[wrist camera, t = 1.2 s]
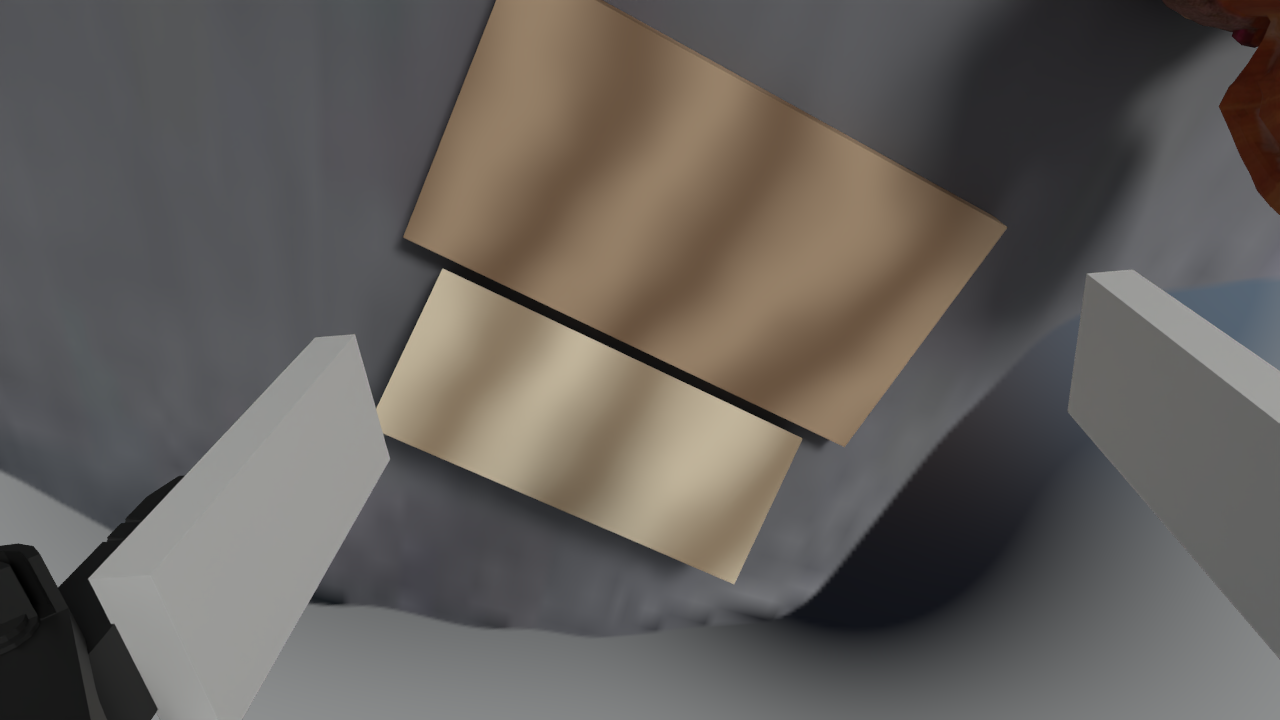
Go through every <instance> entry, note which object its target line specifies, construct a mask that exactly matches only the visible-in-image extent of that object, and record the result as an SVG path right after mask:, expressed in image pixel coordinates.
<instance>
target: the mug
mask: <svg viewBox="0 0 1280 720" xmlns="http://www.w3.org/2000/svg"><path fill="white" fill-rule="evenodd" d="M1162 1H1163V2H1164V4H1165V5H1166V6H1167V7H1169V8H1170V9H1172V10H1174V11H1176V12H1178V13H1179V14H1180V15H1182V16H1183V17H1185V18H1187V19H1191V20H1193V21H1195V22H1197V23H1198V24H1200V25H1202V26H1209V27H1215V28H1219V29H1223V30H1226V31H1230V32H1233V34H1232V37H1233V38H1234V39H1235V40H1236V41H1237V42H1239V43H1240V44H1241V45H1244V46H1249V47H1254V48H1255V47H1258V46H1259V47H1258V48H1257V50H1256V52H1255V53H1254V55H1253V56H1252V58H1251V59H1250V61H1249V63H1248V64H1247V65H1246V67H1245V68H1244V69H1243V71H1242V72H1241V73H1240V74H1239V76H1238V77H1237V78H1236V80H1235V81H1234V82H1233V83H1232V84H1231V85H1230V86H1229V88H1228V90H1227V92H1226V94H1225V95H1224V97H1223V99H1222V101H1221V103H1220V105H1219V108H1220V110H1221V112H1222V115H1223V117H1224V119H1225V121H1226V123H1227V126H1228V128H1229V130H1230V132H1231V135H1232V137H1233V140H1234V142H1235V145H1236V147H1237V149H1238V152H1239V154H1240V156H1241V158H1242V160H1243V162H1244V164H1245V166H1246V168H1247V169H1248V171H1249V173H1250V175H1251V177H1252V180H1253V182H1254V184H1255V187H1256V189H1257V191H1258V192H1259V193H1260V195H1261V196H1262V197H1263V198H1264V199H1265V201H1266V202H1267V203H1268V204H1269V205H1270V207H1272V208H1273V209H1274V210H1275V211H1276V212H1277V213H1278V214H1279V215H1280V0H1162Z"/></svg>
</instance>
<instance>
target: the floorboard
mask: <svg viewBox="0 0 1280 720" xmlns="http://www.w3.org/2000/svg"><path fill="white" fill-rule="evenodd" d="M1007 228H1008V227H1006V226H1005V225H1004V224H1003V223H1002V222H1000V221H999V220H998V219H997V218H996V217H994V216H992V215H990V214H989V213H987V212H985V211H983V210H981V209H980V208H978V207H976V206H974V205H972V204H971V203H969V202H967V201H965V200H963V199H961V198H960V197H958V196H956V195H954V194H952V193H951V192H949V191H947V190H945V189H943V188H942V187H940V186H938V185H936V184H934V183H932V182H931V181H929V180H927V179H925V178H923V177H922V176H920V175H918V174H916V173H914V172H913V171H911V170H909V169H907V168H905V167H904V166H902V165H900V164H898V163H896V162H894V161H893V160H891V159H889V158H887V157H885V156H884V155H882V154H880V153H878V152H876V151H875V150H873V149H871V148H869V147H867V146H865V145H864V144H862V143H860V142H858V141H856V140H855V139H853V138H851V137H849V136H847V135H846V134H844V133H842V132H840V131H838V130H836V129H835V128H833V127H831V126H829V125H827V124H826V123H824V122H822V121H820V120H818V119H817V118H815V117H813V116H811V115H809V114H807V113H806V112H804V111H802V110H800V109H798V108H797V107H795V106H793V105H791V104H789V103H788V102H786V101H784V100H782V99H780V98H778V97H777V96H775V95H773V94H771V93H769V92H768V91H766V90H764V89H762V88H760V87H759V86H757V85H755V84H753V83H751V82H750V81H748V80H746V79H744V78H742V77H740V76H739V75H737V74H735V73H733V72H731V71H730V70H728V69H726V68H724V67H722V66H721V65H719V64H717V63H715V62H713V61H711V60H710V59H708V58H706V57H704V56H702V55H701V54H699V53H697V52H695V51H693V50H692V49H690V48H688V47H686V46H684V45H682V44H681V43H679V42H677V41H675V40H673V39H672V38H670V37H668V36H666V35H664V34H663V33H661V32H659V31H657V30H655V29H653V28H652V27H650V26H648V25H646V24H644V23H643V22H641V21H639V20H637V19H635V18H634V17H632V16H630V15H628V14H626V13H624V12H623V11H621V10H619V9H617V8H615V7H614V6H612V5H610V4H608V3H606V2H605V1H603V0H496V2H495V5H494V7H493V10H492V12H491V15H490V17H489V20H488V23H487V25H486V28H485V30H484V33H483V35H482V38H481V40H480V43H479V45H478V48H477V51H476V53H475V56H474V58H473V61H472V63H471V66H470V68H469V71H468V73H467V76H466V79H465V81H464V84H463V86H462V89H461V91H460V94H459V96H458V99H457V101H456V104H455V107H454V109H453V112H452V114H451V117H450V119H449V122H448V124H447V127H446V129H445V132H444V135H443V137H442V140H441V142H440V145H439V147H438V150H437V152H436V155H435V157H434V160H433V163H432V165H431V168H430V170H429V173H428V175H427V178H426V180H425V183H424V185H423V188H422V191H421V193H420V196H419V198H418V201H417V203H416V206H415V208H414V211H413V213H412V216H411V219H410V221H409V224H408V226H407V229H406V231H405V234H404V236H403V238H406V239H408V240H410V241H412V242H414V243H416V244H418V245H420V246H422V247H425V248H427V249H429V250H431V251H433V252H435V253H437V254H439V255H441V256H443V257H446V258H448V259H450V260H452V261H454V262H456V263H458V264H460V265H462V266H465V267H467V268H469V269H471V270H473V271H475V272H477V273H479V274H481V275H483V276H486V277H488V278H490V279H492V280H494V281H496V282H498V283H500V284H502V285H505V286H507V287H509V288H511V289H513V290H515V291H517V292H519V293H521V294H523V295H526V296H528V297H530V298H532V299H534V300H536V301H538V302H540V303H542V304H545V305H547V306H549V307H551V308H553V309H555V310H557V311H559V312H561V313H563V314H566V315H568V316H570V317H572V318H574V319H576V320H578V321H580V322H582V323H585V324H587V325H589V326H591V327H593V328H595V329H597V330H599V331H601V332H603V333H606V334H608V335H610V336H612V337H614V338H616V339H618V340H620V341H622V342H625V343H627V344H629V345H631V346H633V347H635V348H637V349H639V350H641V351H643V352H646V353H648V354H650V355H652V356H654V357H656V358H658V359H660V360H662V361H664V362H667V363H669V364H671V365H673V366H675V367H677V368H679V369H681V370H683V371H686V372H688V373H690V374H692V375H694V376H696V377H698V378H700V379H702V380H704V381H707V382H709V383H711V384H713V385H715V386H717V387H719V388H721V389H723V390H726V391H728V392H730V393H732V394H734V395H736V396H738V397H740V398H742V399H744V400H747V401H749V402H751V403H753V404H755V405H757V406H759V407H761V408H763V409H766V410H768V411H770V412H772V413H774V414H776V415H778V416H780V417H782V418H784V419H787V420H789V421H791V422H793V423H795V424H797V425H799V426H801V427H803V428H806V429H808V430H810V431H812V432H814V433H816V434H818V435H820V436H822V437H824V438H827V439H829V440H831V441H833V442H835V443H837V444H839V445H841V446H843V447H845V446H846V444H847V443H848V442H849V440H850V439H851V438H852V436H853V435H854V434H855V432H856V431H857V430H858V428H859V427H860V426H861V424H862V423H863V422H864V420H865V419H866V417H867V416H868V415H869V413H870V412H871V411H872V409H873V408H874V407H875V405H876V404H877V403H878V401H879V400H880V399H881V397H882V396H883V395H884V393H885V392H886V391H887V389H888V388H889V386H890V385H891V384H892V382H893V381H894V380H895V378H896V377H897V376H898V374H899V373H900V372H901V370H902V369H903V368H904V366H905V365H906V364H907V362H908V361H909V360H910V358H911V357H912V356H913V354H914V353H915V351H916V350H917V349H918V347H919V346H920V345H921V343H922V342H923V341H924V339H925V338H926V337H927V335H928V334H929V333H930V331H931V330H932V329H933V327H934V326H935V325H936V323H937V322H938V320H939V319H940V318H941V316H942V315H943V314H944V312H945V311H946V310H947V308H948V307H949V306H950V304H951V303H952V302H953V300H954V299H955V298H956V296H957V295H958V294H959V292H960V291H961V290H962V288H963V287H964V285H965V284H966V283H967V281H968V280H969V279H970V277H971V276H972V275H973V273H974V272H975V271H976V269H977V268H978V267H979V265H980V264H981V263H982V261H983V260H984V259H985V257H986V256H987V255H988V253H989V252H990V250H991V249H992V248H993V246H994V245H995V244H996V242H997V241H998V240H999V238H1000V237H1001V236H1002V234H1003V233H1004V232H1005V230H1006V229H1007Z"/></svg>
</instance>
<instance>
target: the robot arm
mask: <svg viewBox="0 0 1280 720" xmlns="http://www.w3.org/2000/svg"><path fill="white" fill-rule="evenodd" d="M1068 413H1069V414H1070V415H1071V416H1072V417H1073V418H1074V420H1075V421H1076V422H1077V423H1078V424H1079V425H1080V427H1081V428H1082V429H1083V430H1084V431H1085V433H1086V434H1087V435H1088V436H1089V437H1090V438H1091V439H1092V441H1093V442H1094V443H1095V444H1096V445H1097V447H1098V448H1099V449H1100V450H1101V451H1102V452H1103V453H1104V455H1105V456H1106V457H1107V458H1108V459H1109V461H1110V462H1111V463H1112V464H1113V465H1114V466H1115V468H1116V469H1117V470H1118V471H1119V472H1120V473H1121V475H1122V476H1123V477H1124V478H1125V479H1126V480H1127V481H1128V483H1129V484H1130V485H1131V486H1132V487H1133V488H1134V490H1135V491H1136V492H1137V493H1138V494H1139V496H1140V497H1141V498H1142V499H1143V500H1144V501H1145V502H1146V504H1147V505H1148V506H1149V507H1150V508H1151V510H1152V511H1153V512H1154V513H1155V514H1156V515H1157V517H1158V518H1159V519H1160V520H1161V521H1162V522H1163V524H1164V525H1165V526H1166V527H1167V528H1168V529H1169V530H1170V532H1171V533H1172V534H1173V535H1174V536H1175V538H1176V539H1177V540H1178V541H1179V542H1180V543H1181V545H1182V546H1183V547H1184V548H1185V549H1186V550H1187V552H1188V553H1189V554H1190V555H1191V556H1192V557H1193V559H1194V560H1195V561H1196V562H1197V563H1198V564H1199V566H1200V567H1201V568H1202V569H1203V570H1204V571H1205V572H1206V574H1207V575H1208V576H1209V577H1210V578H1211V580H1212V581H1213V582H1214V583H1215V584H1216V585H1217V587H1218V588H1219V589H1220V590H1221V591H1222V592H1223V594H1224V595H1225V596H1226V597H1227V598H1228V599H1229V601H1230V602H1231V603H1232V604H1233V605H1234V607H1235V608H1236V609H1237V610H1238V611H1239V612H1240V613H1241V615H1242V616H1243V617H1244V618H1245V619H1246V621H1247V622H1248V623H1249V624H1250V625H1251V626H1252V628H1253V629H1254V630H1255V631H1256V632H1257V633H1258V635H1259V636H1260V637H1261V638H1262V639H1263V640H1264V641H1265V643H1266V644H1267V645H1268V646H1269V647H1270V649H1271V650H1272V651H1273V652H1274V653H1275V654H1276V655H1277V657H1278V658H1279V659H1280V371H1279V370H1277V369H1276V368H1274V367H1273V366H1271V365H1270V364H1269V363H1267V362H1266V361H1264V360H1263V359H1261V358H1260V357H1259V356H1257V355H1256V354H1254V353H1253V352H1251V351H1250V350H1248V349H1247V348H1246V347H1244V346H1243V345H1241V344H1240V343H1238V342H1237V341H1235V340H1234V339H1233V338H1231V337H1230V336H1228V335H1227V334H1225V333H1224V332H1222V331H1221V330H1219V329H1218V328H1216V327H1215V326H1214V325H1212V324H1211V323H1209V322H1208V321H1206V320H1205V319H1204V318H1202V317H1201V316H1199V315H1197V314H1196V313H1195V312H1193V311H1192V310H1190V309H1189V308H1188V307H1186V306H1185V305H1183V304H1182V303H1180V302H1179V301H1177V300H1176V299H1175V298H1173V297H1172V296H1170V295H1169V294H1167V293H1166V292H1164V291H1163V290H1162V289H1160V288H1159V287H1157V286H1156V285H1154V284H1153V283H1151V282H1150V281H1148V280H1147V279H1146V278H1144V277H1143V276H1141V275H1140V274H1138V273H1137V272H1135V271H1134V270H1123V271H1111V272H1099V273H1087V275H1086V282H1085V289H1084V296H1083V304H1082V311H1081V318H1080V325H1079V333H1078V340H1077V347H1076V354H1075V361H1074V369H1073V376H1072V383H1071V390H1070V397H1069V405H1068ZM389 460H390V457H389V453H388V450H387V446H386V443H385V439H384V436H383V432H382V429H381V425H380V421H379V418H378V414H377V411H376V407H375V404H374V400H373V397H372V393H371V390H370V386H369V383H368V379H367V375H366V372H365V368H364V365H363V361H362V358H361V354H360V351H359V347H358V344H357V340H356V336H355V334H352V335H340V336H328V337H316V338H314V340H313V341H312V342H311V343H310V344H309V345H308V346H307V347H306V348H305V349H304V350H303V351H302V352H301V353H300V354H299V355H298V357H297V358H296V359H295V360H294V361H293V362H292V363H291V364H290V365H289V366H288V367H287V368H286V369H285V370H284V371H283V372H282V373H281V375H280V376H279V377H278V378H277V379H276V380H275V381H274V382H273V383H272V384H271V385H270V386H269V387H268V388H267V389H266V390H265V392H264V393H263V394H262V395H261V396H260V397H259V398H258V399H257V400H256V401H255V402H254V403H253V404H252V405H251V406H250V407H249V409H248V410H247V411H246V412H245V413H244V414H243V415H242V416H241V417H240V418H239V419H238V420H237V421H236V422H235V423H234V424H233V425H232V427H231V428H230V429H229V430H228V431H227V432H226V433H225V434H224V435H223V436H222V437H221V438H220V439H219V440H218V441H217V442H216V444H215V445H214V446H213V447H212V448H211V449H210V450H209V451H208V452H207V453H206V454H205V455H204V456H203V457H202V458H201V459H200V461H199V462H198V463H197V464H196V465H195V466H194V467H193V468H192V469H191V470H190V471H189V472H188V473H187V474H186V475H185V476H178V477H177V478H175V479H174V480H172V481H170V482H169V483H167V484H166V485H164V486H163V487H161V488H160V489H158V490H157V491H155V492H153V493H152V494H150V495H149V496H147V497H146V498H145V499H144V500H143V501H142V502H141V503H140V504H139V505H138V506H137V507H136V509H135V510H134V511H133V512H132V513H131V514H130V515H129V516H128V517H127V518H126V519H125V520H126V522H125V523H121V524H120V525H119V526H118V527H117V528H116V529H115V530H114V531H113V532H112V533H111V534H110V535H109V536H108V537H107V538H108V540H107V542H102V543H101V544H100V545H99V546H98V547H97V548H96V549H95V551H94V552H93V553H92V554H91V555H90V556H89V557H88V558H87V559H86V560H85V561H84V562H83V563H82V564H81V565H80V566H79V567H78V568H77V569H76V570H75V571H74V572H73V573H72V574H71V575H70V576H69V577H68V578H67V579H66V580H65V581H64V582H63V584H61V585H60V586H59V587H57V585H56V583H55V582H54V580H53V578H52V576H51V574H50V572H49V570H48V569H47V567H46V565H45V563H44V561H43V559H42V557H41V556H40V554H39V552H38V551H37V550H36V549H35V548H34V546H29V545H23V544H12V545H4V546H0V720H151V719H152V718H153V716H154V715H155V713H157V715H158V717H159V719H160V720H242V719H243V717H244V716H245V714H246V712H247V710H248V709H249V707H250V705H251V703H252V701H253V700H254V698H255V696H256V694H257V693H258V691H259V689H260V687H261V686H262V684H263V682H264V680H265V679H266V677H267V675H268V673H269V672H270V670H271V668H272V666H273V665H274V663H275V661H276V659H277V657H278V656H279V654H280V652H281V650H282V649H283V647H284V645H285V643H286V641H287V640H288V638H289V636H290V635H291V633H292V631H293V629H294V627H295V626H296V624H297V622H298V620H299V619H300V617H301V615H302V613H303V612H304V609H305V608H306V606H307V605H308V603H309V601H310V599H311V598H312V596H313V594H314V592H315V590H316V589H317V587H318V585H319V583H320V582H321V580H322V578H323V576H324V575H325V573H326V571H327V569H328V568H329V566H330V564H331V562H332V560H333V559H334V557H335V555H336V553H337V552H338V550H339V548H340V546H341V545H342V543H343V541H344V539H345V538H346V536H347V534H348V532H349V531H350V529H351V527H352V525H353V523H354V522H355V520H356V518H357V516H358V515H359V513H360V511H361V509H362V508H363V506H364V504H365V502H366V501H367V499H368V497H369V495H370V493H371V492H372V490H373V488H374V486H375V485H376V483H377V481H378V479H379V478H380V476H381V474H382V472H383V471H384V469H385V467H386V465H387V464H388V462H389Z"/></svg>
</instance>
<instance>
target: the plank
mask: <svg viewBox="0 0 1280 720" xmlns="http://www.w3.org/2000/svg"><path fill="white" fill-rule="evenodd" d="M376 411H377V414H378V418H379V421H380V425H381V429H382V432H383V434H386V435H388V436H390V437H392V438H395V439H397V440H399V441H402V442H404V443H406V444H409V445H411V446H413V447H416V448H418V449H420V450H423V451H425V452H427V453H430V454H432V455H434V456H437V457H439V458H441V459H444V460H446V461H448V462H451V463H453V464H455V465H458V466H460V467H462V468H465V469H467V470H469V471H472V472H474V473H476V474H479V475H481V476H483V477H486V478H488V479H490V480H493V481H495V482H497V483H500V484H502V485H504V486H507V487H509V488H511V489H513V490H516V491H518V492H520V493H523V494H525V495H527V496H530V497H532V498H534V499H537V500H539V501H541V502H544V503H546V504H548V505H551V506H553V507H555V508H558V509H560V510H562V511H565V512H567V513H569V514H572V515H574V516H576V517H579V518H581V519H583V520H586V521H588V522H590V523H593V524H595V525H597V526H600V527H602V528H604V529H607V530H609V531H611V532H614V533H616V534H618V535H621V536H623V537H625V538H628V539H630V540H632V541H635V542H637V543H639V544H641V545H644V546H646V547H648V548H651V549H653V550H655V551H658V552H660V553H662V554H665V555H667V556H669V557H672V558H674V559H676V560H679V561H681V562H683V563H686V564H688V565H690V566H693V567H695V568H697V569H700V570H702V571H704V572H707V573H709V574H711V575H714V576H716V577H718V578H721V579H723V580H725V581H728V582H730V583H732V584H735V582H736V579H737V577H738V575H739V573H740V571H741V569H742V567H743V564H744V562H745V560H746V558H747V556H748V554H749V552H750V550H751V547H752V545H753V543H754V541H755V539H756V537H757V535H758V533H759V530H760V528H761V526H762V524H763V522H764V520H765V518H766V516H767V513H768V511H769V509H770V507H771V505H772V503H773V501H774V499H775V496H776V494H777V492H778V490H779V488H780V486H781V484H782V481H783V479H784V477H785V475H786V473H787V471H788V469H789V467H790V464H791V462H792V460H793V458H794V456H795V454H796V452H797V450H798V447H799V445H800V443H801V441H802V439H803V438H801V437H799V436H797V435H794V434H792V433H790V432H788V431H786V430H784V429H782V428H780V427H777V426H775V425H773V424H771V423H769V422H767V421H765V420H763V419H761V418H758V417H756V416H754V415H752V414H750V413H748V412H746V411H744V410H741V409H739V408H737V407H735V406H733V405H731V404H729V403H727V402H725V401H722V400H720V399H718V398H716V397H714V396H712V395H710V394H708V393H705V392H703V391H701V390H699V389H697V388H695V387H693V386H691V385H689V384H686V383H684V382H682V381H680V380H678V379H676V378H674V377H672V376H669V375H667V374H665V373H663V372H661V371H659V370H657V369H655V368H653V367H650V366H648V365H646V364H644V363H642V362H640V361H638V360H636V359H633V358H631V357H629V356H627V355H625V354H623V353H621V352H619V351H617V350H614V349H612V348H610V347H608V346H606V345H604V344H602V343H600V342H598V341H595V340H593V339H591V338H589V337H587V336H585V335H583V334H581V333H578V332H576V331H574V330H572V329H570V328H568V327H566V326H564V325H562V324H559V323H557V322H555V321H553V320H551V319H549V318H547V317H545V316H542V315H540V314H538V313H536V312H534V311H532V310H530V309H528V308H526V307H523V306H521V305H519V304H517V303H515V302H513V301H511V300H509V299H506V298H504V297H502V296H500V295H498V294H496V293H494V292H492V291H490V290H487V289H485V288H483V287H481V286H479V285H477V284H475V283H473V282H470V281H468V280H466V279H464V278H462V277H460V276H458V275H456V274H454V273H451V272H449V271H447V270H445V269H442V271H441V273H440V275H439V277H438V279H437V281H436V283H435V286H434V288H433V290H432V292H431V294H430V296H429V298H428V300H427V302H426V305H425V307H424V309H423V311H422V313H421V315H420V317H419V319H418V322H417V324H416V326H415V328H414V330H413V332H412V334H411V336H410V338H409V341H408V343H407V345H406V347H405V349H404V351H403V353H402V355H401V357H400V360H399V362H398V364H397V366H396V368H395V370H394V372H393V374H392V376H391V379H390V381H389V383H388V385H387V387H386V389H385V391H384V393H383V395H382V398H381V400H380V402H379V404H378V406H377V408H376Z"/></svg>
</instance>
